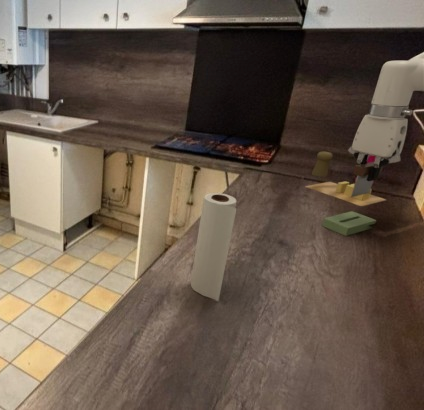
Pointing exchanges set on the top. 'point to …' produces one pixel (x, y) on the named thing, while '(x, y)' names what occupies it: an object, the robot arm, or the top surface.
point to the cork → (322, 164)
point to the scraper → (362, 179)
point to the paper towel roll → (213, 244)
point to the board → (331, 190)
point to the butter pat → (341, 186)
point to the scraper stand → (348, 223)
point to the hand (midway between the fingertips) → (365, 178)
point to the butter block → (361, 197)
